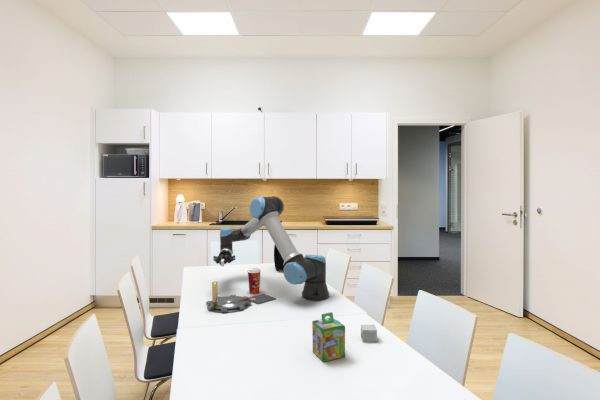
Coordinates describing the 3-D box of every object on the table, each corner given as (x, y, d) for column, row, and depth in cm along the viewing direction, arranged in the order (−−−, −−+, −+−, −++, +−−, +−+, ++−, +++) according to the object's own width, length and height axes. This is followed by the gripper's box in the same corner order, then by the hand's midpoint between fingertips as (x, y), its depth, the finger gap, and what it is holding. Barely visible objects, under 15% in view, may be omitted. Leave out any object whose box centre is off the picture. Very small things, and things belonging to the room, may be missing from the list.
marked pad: (276, 299, 190) (276, 297, 190) (258, 304, 183) (258, 302, 182) (263, 294, 199) (263, 293, 199) (245, 299, 191) (245, 297, 191)
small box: (360, 336, 142) (360, 324, 142) (374, 336, 142) (374, 324, 142) (362, 342, 137) (362, 330, 136) (377, 342, 136) (377, 330, 136)
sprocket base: (258, 305, 180) (258, 304, 180) (220, 316, 166) (220, 315, 166) (236, 296, 197) (236, 295, 197) (199, 305, 182) (199, 304, 182)
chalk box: (323, 362, 121) (322, 320, 120) (311, 351, 129) (311, 311, 129) (346, 357, 125) (345, 316, 124) (333, 346, 133) (333, 308, 132)
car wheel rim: (292, 272, 251) (292, 244, 250) (279, 273, 248) (278, 245, 248) (286, 266, 270) (286, 240, 269) (274, 267, 268) (273, 241, 267)
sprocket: (244, 294, 196) (243, 271, 196) (256, 307, 176) (256, 280, 175) (203, 300, 187) (202, 276, 186) (211, 314, 166) (210, 286, 166)
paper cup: (255, 295, 197) (255, 271, 197) (245, 293, 201) (244, 269, 201) (263, 292, 204) (263, 268, 203) (253, 290, 208) (253, 266, 208)
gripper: (236, 261, 213) (234, 270, 190) (214, 262, 211) (209, 271, 188) (236, 249, 213) (234, 256, 189) (214, 249, 211) (209, 257, 188)
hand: (222, 263), depth 189 cm, fingers closed
